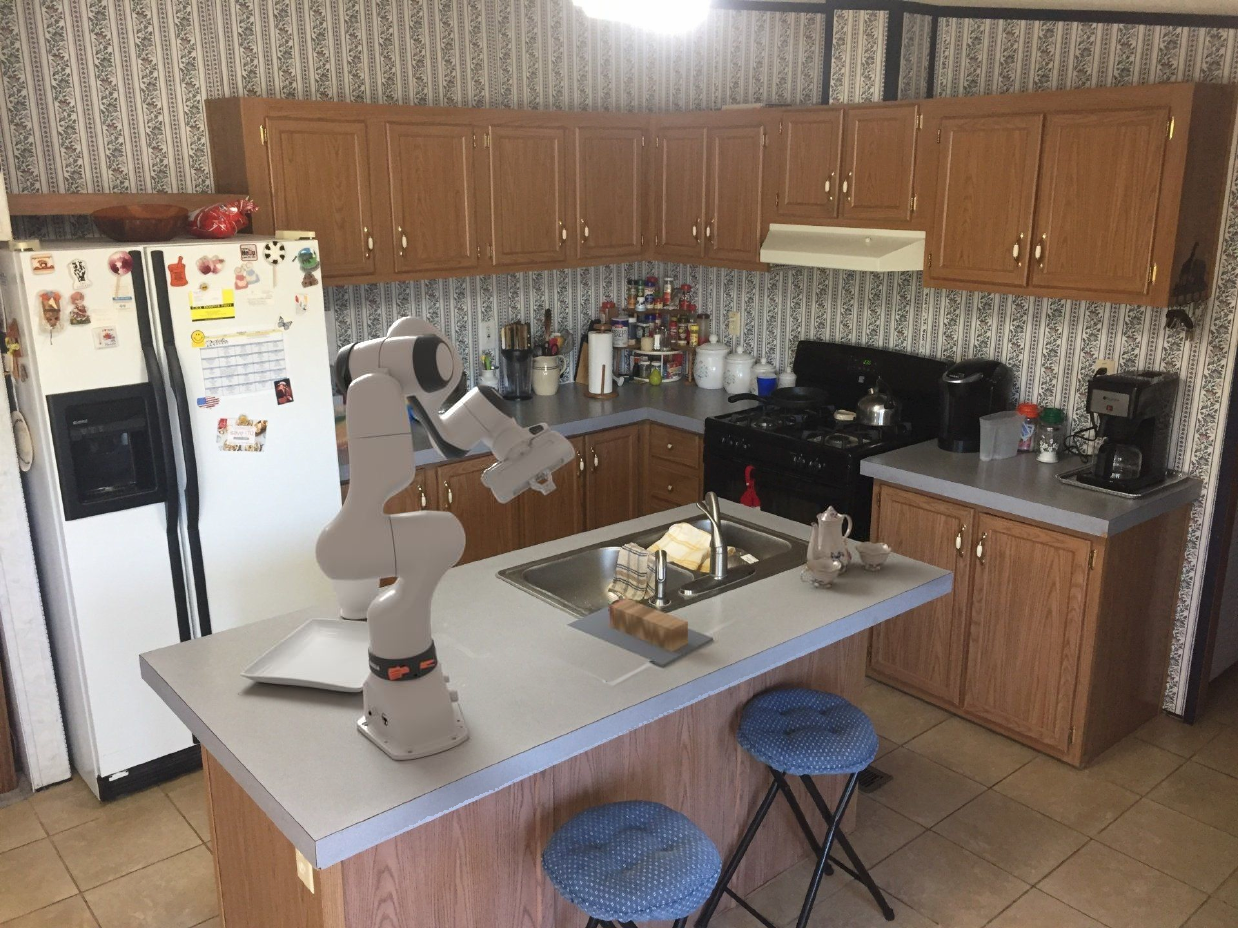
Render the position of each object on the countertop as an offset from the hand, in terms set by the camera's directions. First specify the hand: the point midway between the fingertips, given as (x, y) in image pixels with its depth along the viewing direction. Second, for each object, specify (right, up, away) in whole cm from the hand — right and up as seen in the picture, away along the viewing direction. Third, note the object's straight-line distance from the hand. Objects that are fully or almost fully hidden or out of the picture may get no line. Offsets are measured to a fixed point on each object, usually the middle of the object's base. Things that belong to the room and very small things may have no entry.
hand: (550, 490), depth 219 cm
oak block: (+14, -27, +3) cm, 31 cm away
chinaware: (+68, -21, +30) cm, 78 cm away
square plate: (-43, -36, -10) cm, 57 cm away
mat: (+19, -31, 0) cm, 36 cm away
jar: (-45, -29, +14) cm, 55 cm away
